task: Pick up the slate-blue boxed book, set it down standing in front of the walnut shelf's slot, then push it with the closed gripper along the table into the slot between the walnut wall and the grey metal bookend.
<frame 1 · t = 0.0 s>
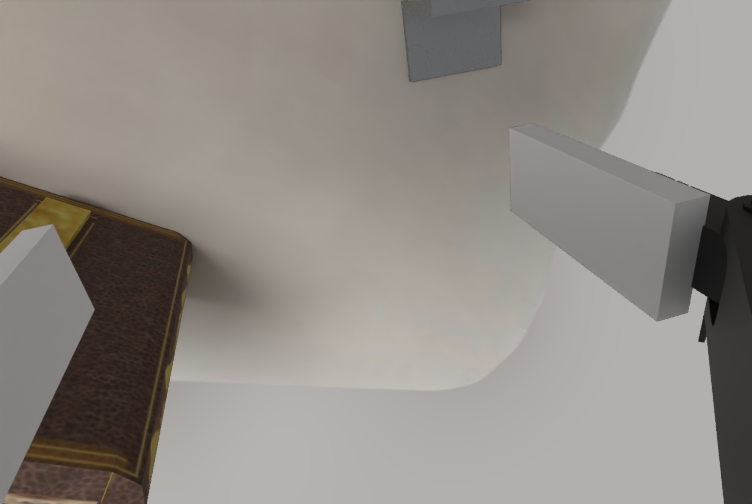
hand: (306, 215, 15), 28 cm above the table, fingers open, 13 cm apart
book: (48, 228, 40), on the table
bookend: (450, 0, 40), on the table
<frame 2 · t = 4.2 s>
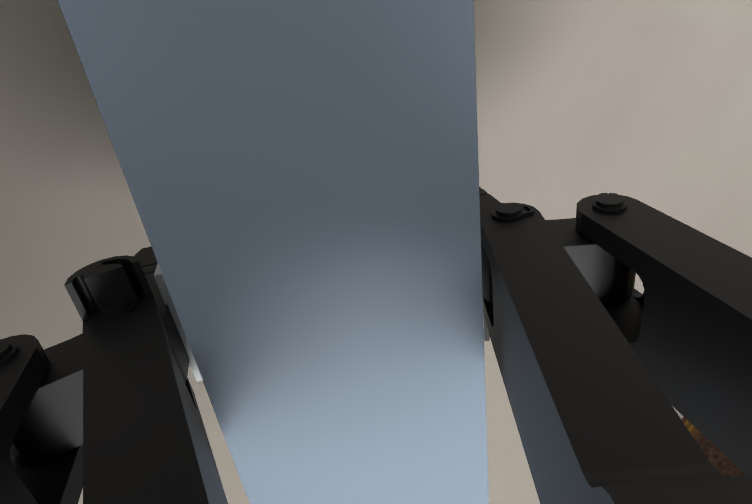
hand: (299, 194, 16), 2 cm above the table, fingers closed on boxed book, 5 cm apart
boxed book: (297, 188, 17), point 2 cm above the table, touching gripper
when the fingers open (1 cm above the table, at t = 8.3 s): boxed book drops 1 cm, on the table.
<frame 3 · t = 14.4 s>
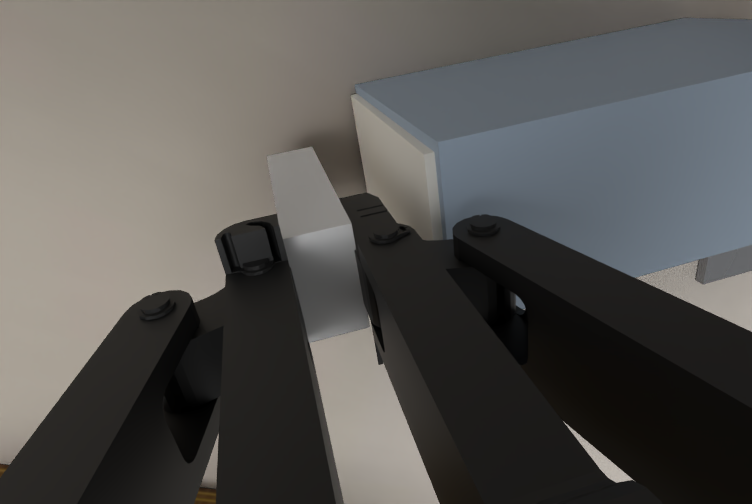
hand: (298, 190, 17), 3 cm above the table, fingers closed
boxed book: (527, 113, 21), on the table, touching gripper
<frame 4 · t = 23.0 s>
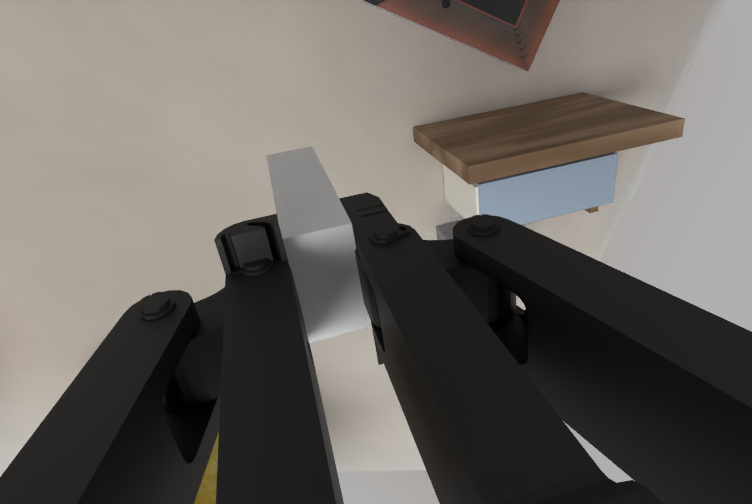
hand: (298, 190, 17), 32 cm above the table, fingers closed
book: (188, 380, 57), on the table
boxed book: (505, 167, 55), on the table
shelf: (501, 169, 55), on the table
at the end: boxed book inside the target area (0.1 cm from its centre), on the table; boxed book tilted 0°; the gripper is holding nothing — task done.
